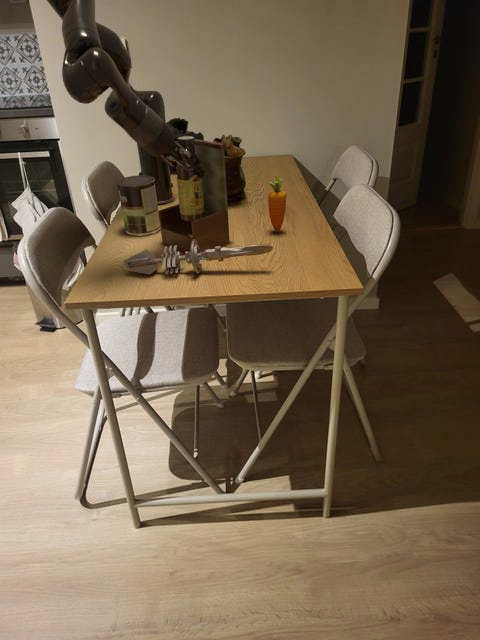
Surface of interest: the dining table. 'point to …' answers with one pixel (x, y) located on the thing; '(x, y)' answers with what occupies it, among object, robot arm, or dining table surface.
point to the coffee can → (139, 205)
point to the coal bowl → (182, 130)
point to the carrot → (277, 204)
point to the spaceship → (188, 257)
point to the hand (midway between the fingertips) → (193, 172)
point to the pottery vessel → (233, 166)
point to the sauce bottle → (189, 187)
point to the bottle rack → (215, 206)
